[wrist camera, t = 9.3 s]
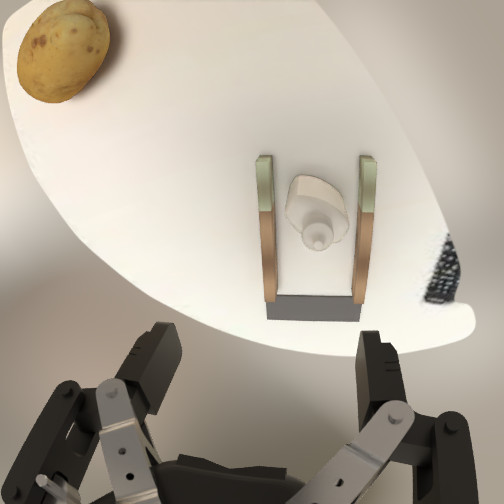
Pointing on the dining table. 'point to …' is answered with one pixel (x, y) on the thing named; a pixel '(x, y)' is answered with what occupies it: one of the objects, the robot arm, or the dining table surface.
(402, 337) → the dining table surface
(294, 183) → the eye dropper bottle
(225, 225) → the dining table surface
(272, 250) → the walnut channel
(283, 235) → the dining table surface
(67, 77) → the potato
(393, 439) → the robot arm
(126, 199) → the dining table surface
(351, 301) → the plate
